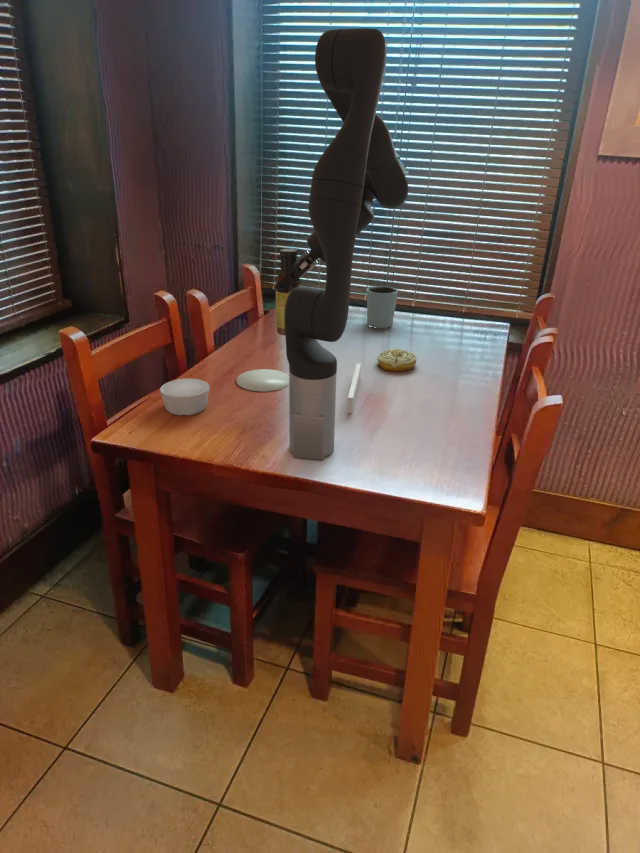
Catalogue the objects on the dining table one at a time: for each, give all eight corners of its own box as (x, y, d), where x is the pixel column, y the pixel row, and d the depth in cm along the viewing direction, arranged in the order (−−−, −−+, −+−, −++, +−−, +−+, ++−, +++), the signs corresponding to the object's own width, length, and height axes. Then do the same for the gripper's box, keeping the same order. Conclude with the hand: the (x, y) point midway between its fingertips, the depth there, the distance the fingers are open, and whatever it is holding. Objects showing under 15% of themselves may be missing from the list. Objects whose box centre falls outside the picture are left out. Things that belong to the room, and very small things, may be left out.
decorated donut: (369, 364, 167) (370, 351, 166) (396, 356, 173) (397, 344, 172) (395, 376, 160) (396, 362, 158) (423, 367, 166) (424, 354, 164)
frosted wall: (352, 413, 139) (352, 397, 137) (347, 413, 139) (347, 397, 137) (360, 377, 158) (361, 363, 156) (355, 377, 158) (356, 363, 156)
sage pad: (284, 393, 148) (284, 392, 148) (229, 389, 150) (229, 387, 149) (295, 372, 160) (295, 371, 160) (244, 368, 162) (244, 367, 162)
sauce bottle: (297, 337, 144) (297, 253, 135) (273, 335, 145) (271, 252, 136) (304, 329, 150) (304, 248, 141) (280, 327, 151) (279, 246, 142)
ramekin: (159, 401, 143) (156, 381, 140) (205, 395, 146) (204, 375, 144) (165, 421, 133) (163, 400, 131) (215, 414, 137) (213, 393, 135)
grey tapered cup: (361, 327, 196) (363, 291, 191) (368, 319, 205) (370, 284, 199) (392, 331, 194) (395, 294, 188) (397, 322, 202) (400, 287, 197)
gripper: (325, 220, 141) (277, 268, 148) (315, 229, 128) (262, 281, 135) (347, 244, 143) (298, 291, 150) (338, 256, 130) (285, 306, 137)
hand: (281, 286), depth 143 cm, fingers closed on sauce bottle, 6 cm apart
